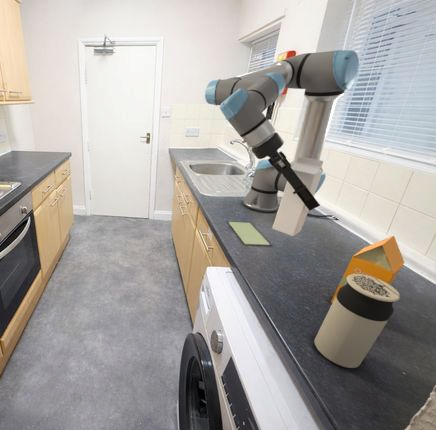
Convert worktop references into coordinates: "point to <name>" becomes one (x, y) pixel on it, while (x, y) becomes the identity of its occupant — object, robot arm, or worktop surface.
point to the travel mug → (355, 319)
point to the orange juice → (375, 262)
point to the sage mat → (248, 234)
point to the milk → (297, 197)
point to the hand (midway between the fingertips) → (309, 201)
